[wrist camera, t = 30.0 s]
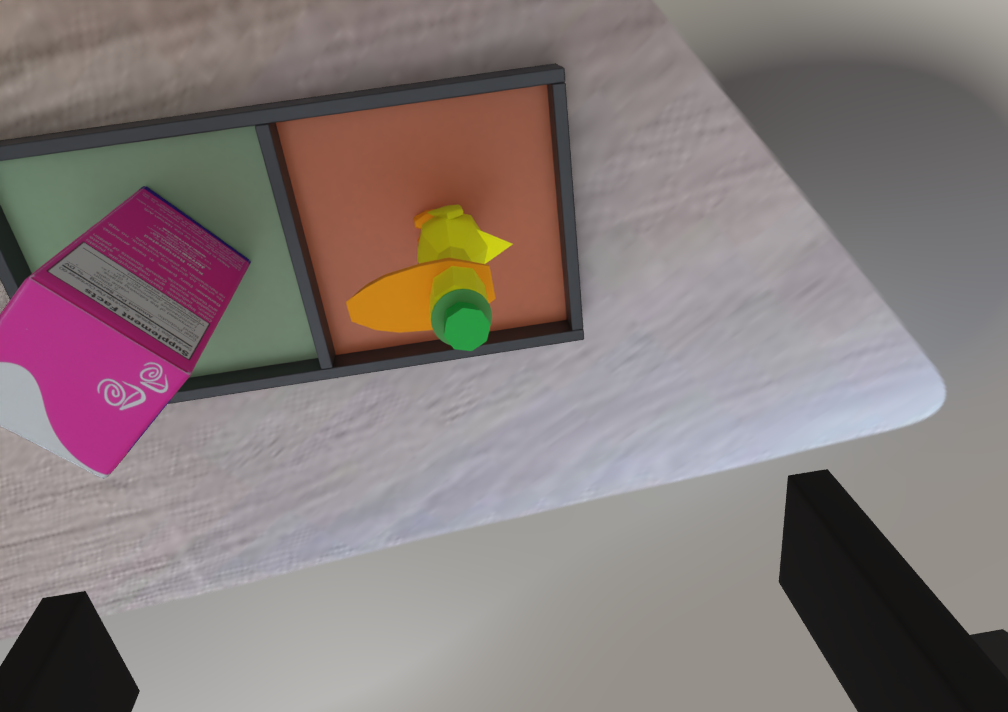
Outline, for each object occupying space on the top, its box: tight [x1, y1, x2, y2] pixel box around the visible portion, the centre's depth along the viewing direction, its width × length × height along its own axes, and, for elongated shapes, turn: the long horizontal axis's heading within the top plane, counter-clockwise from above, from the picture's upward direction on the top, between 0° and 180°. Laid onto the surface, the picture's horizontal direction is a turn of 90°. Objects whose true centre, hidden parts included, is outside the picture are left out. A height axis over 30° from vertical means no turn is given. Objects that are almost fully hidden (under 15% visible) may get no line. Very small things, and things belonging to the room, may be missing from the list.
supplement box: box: [0, 186, 251, 479], centre depth 28 cm, size 6×6×12 cm
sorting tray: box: [0, 64, 584, 404], centre depth 33 cm, size 26×13×2 cm, turn 97°
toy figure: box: [346, 204, 512, 351], centre depth 29 cm, size 7×4×12 cm, turn 99°
